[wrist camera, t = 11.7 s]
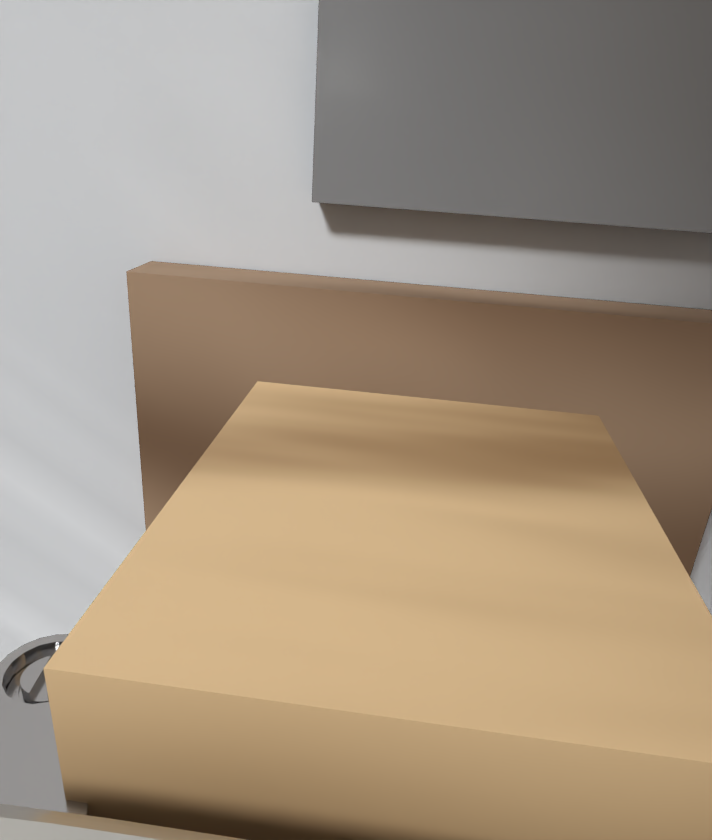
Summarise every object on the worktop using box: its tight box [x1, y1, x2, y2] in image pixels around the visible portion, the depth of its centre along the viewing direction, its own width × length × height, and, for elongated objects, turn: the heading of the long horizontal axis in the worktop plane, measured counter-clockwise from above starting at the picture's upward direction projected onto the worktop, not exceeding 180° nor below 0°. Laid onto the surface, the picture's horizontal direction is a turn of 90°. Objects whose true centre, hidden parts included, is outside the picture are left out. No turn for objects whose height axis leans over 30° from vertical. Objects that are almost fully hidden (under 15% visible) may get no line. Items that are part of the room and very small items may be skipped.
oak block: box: [43, 381, 712, 840], centre depth 10 cm, size 6×6×7 cm
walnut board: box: [127, 261, 712, 577], centre depth 15 cm, size 9×12×1 cm
